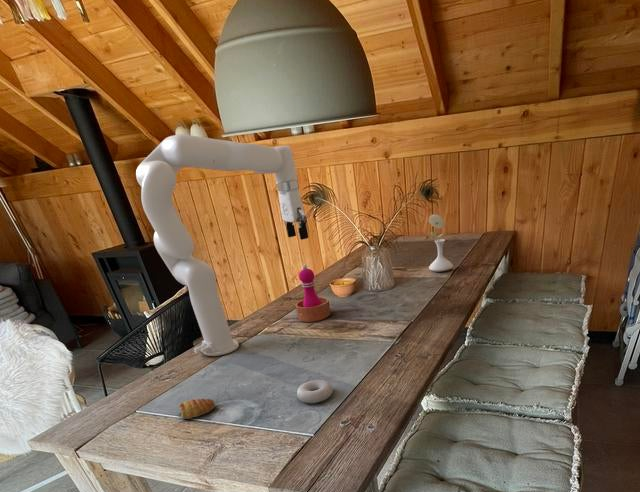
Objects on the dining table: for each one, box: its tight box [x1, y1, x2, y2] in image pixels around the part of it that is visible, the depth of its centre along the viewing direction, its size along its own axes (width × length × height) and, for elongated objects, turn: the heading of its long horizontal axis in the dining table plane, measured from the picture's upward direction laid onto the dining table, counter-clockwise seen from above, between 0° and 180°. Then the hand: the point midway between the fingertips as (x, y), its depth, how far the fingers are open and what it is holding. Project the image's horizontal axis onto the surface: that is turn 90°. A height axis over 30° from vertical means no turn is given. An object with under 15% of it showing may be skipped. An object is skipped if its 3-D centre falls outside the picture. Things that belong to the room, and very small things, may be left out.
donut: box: [296, 379, 333, 404], centre depth 129 cm, size 10×4×10 cm
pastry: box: [178, 398, 216, 420], centre depth 129 cm, size 9×7×4 cm
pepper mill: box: [298, 264, 321, 308], centre depth 182 cm, size 7×7×20 cm
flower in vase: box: [428, 214, 454, 273], centre depth 218 cm, size 13×11×25 cm
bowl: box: [294, 296, 332, 323], centre depth 186 cm, size 13×13×6 cm
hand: (298, 237), depth 174 cm, fingers open, 9 cm apart
